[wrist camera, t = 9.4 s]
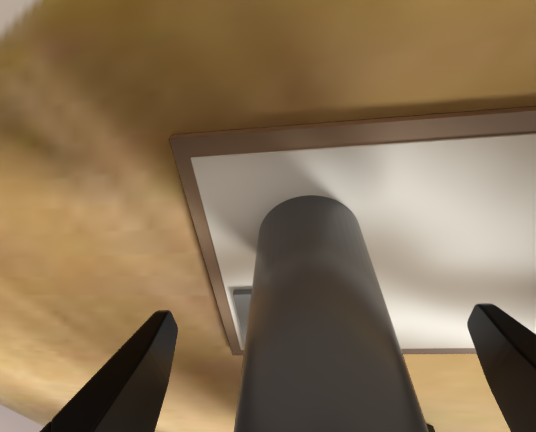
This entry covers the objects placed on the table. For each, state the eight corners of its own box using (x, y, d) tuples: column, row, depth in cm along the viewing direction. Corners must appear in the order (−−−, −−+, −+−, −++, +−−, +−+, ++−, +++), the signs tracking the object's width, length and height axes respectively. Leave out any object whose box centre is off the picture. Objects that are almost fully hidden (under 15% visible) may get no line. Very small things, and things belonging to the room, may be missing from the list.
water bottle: (357, 273, 13) (491, 777, 4) (263, 276, 13) (221, 743, 5) (366, 191, 10) (690, 929, 2) (251, 197, 11) (129, 836, 2)
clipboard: (544, 346, 16) (561, 368, 15) (233, 348, 17) (230, 368, 16) (742, 89, 8) (801, 100, 8) (172, 134, 10) (160, 148, 9)
